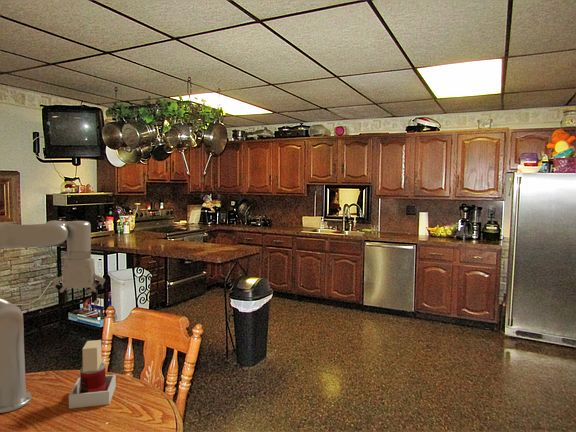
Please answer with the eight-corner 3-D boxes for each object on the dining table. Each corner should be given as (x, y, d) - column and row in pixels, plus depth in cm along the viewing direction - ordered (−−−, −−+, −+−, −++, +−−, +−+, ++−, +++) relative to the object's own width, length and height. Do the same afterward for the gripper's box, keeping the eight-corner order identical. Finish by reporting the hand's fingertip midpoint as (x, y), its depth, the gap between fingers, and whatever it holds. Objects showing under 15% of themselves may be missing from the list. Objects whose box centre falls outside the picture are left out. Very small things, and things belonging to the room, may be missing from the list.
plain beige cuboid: (83, 371, 136) (82, 348, 135) (88, 362, 143) (87, 340, 142) (97, 370, 137) (96, 347, 136) (101, 361, 144) (101, 339, 143)
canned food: (110, 391, 144) (109, 362, 143) (97, 403, 136) (96, 372, 135) (89, 390, 145) (89, 360, 144) (76, 402, 137) (75, 371, 136)
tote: (69, 408, 133) (68, 395, 133) (79, 389, 145) (78, 377, 145) (109, 404, 136) (109, 391, 136) (115, 386, 148) (115, 374, 148)
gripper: (48, 257, 139) (49, 305, 140) (101, 257, 142) (102, 304, 143) (57, 253, 146) (57, 299, 147) (107, 253, 149) (107, 298, 150)
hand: (79, 302), depth 145 cm, fingers open, 9 cm apart
